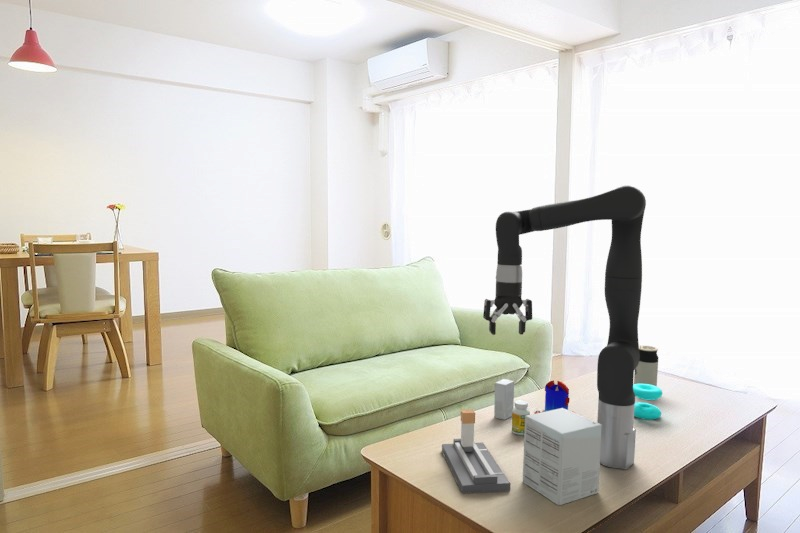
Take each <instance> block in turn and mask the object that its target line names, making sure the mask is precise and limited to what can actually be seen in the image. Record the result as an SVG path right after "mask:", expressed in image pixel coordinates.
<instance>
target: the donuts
mask: <svg viewBox="0 0 800 533" xmlns="http://www.w3.org/2000/svg"><path fill="white" fill-rule="evenodd" d="M633 391H634V393H635V398H638V399H640V400H645V401H646V400H648V401H654V400H658V399H660V398H662V395H663V390H662V389H661V388H660V387H659V386H657V387H656V386H654V385H650V384H634V383H633ZM661 415H662V411H661V409H660V408H659V407H657V406H656V405H654V404H651V403H648V402H643V401H641V402H635V408H634V418H638V419H641V420H642V419H643V420H650V421H651V420H653V421H654V420H656V419H659V418H660V417H661Z"/></svg>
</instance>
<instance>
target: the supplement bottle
mask: <svg viewBox="0 0 800 533" xmlns="http://www.w3.org/2000/svg"><path fill="white" fill-rule="evenodd" d="M528 403H529V402H528V401H526V400H519V399H518V400H515V401H514V407H513V410H512V416H511V432H512V433H513V434H515V435H519V436H524V434H525V416H526V415H531V412H530V409H529V408H528V407H529V404H528Z"/></svg>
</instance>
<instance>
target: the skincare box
mask: <svg viewBox="0 0 800 533" xmlns="http://www.w3.org/2000/svg"><path fill="white" fill-rule="evenodd" d="M514 397H515V381H514V380H511V379H508V378H507V379H506V378H502V379H501V380H497V381H496V382H494V404H493V405H494V408H493V409H494V412H493V414H494V416H493V417H494V418H496V419H500V420H503V421H506V420H507V419H509V418H512V410H513V408H514V407H515V406H514V405H515V401H514V400H515V399H514Z"/></svg>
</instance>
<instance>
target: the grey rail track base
mask: <svg viewBox="0 0 800 533" xmlns="http://www.w3.org/2000/svg"><path fill="white" fill-rule="evenodd" d="M441 451H442V454H443V457H444V458H445V460H446V462H447V464H448V467H449V469H450V471H451V473H452V475H453V477H454V479H455V481H456V483H457V485H458V487H459V490H460V492H461V494H477V493H478V494H479V493H493V492H494V493H496V492H497V493H498V492H510V491H511V481H510V480H509V479H508V477H507V475H506V474H505V473H504V470H502V469H501V467H500V465H499V464H498V463H497V461H496V459H495V458H494V456H493V455H492V454H491V452H490V451H489V449H488V448H487V446H486V445H485V442H482V441H481V442H475V441H474V446H473V452H464V450H463V449H462V444H461V438H453V443H442V444H441Z"/></svg>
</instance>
